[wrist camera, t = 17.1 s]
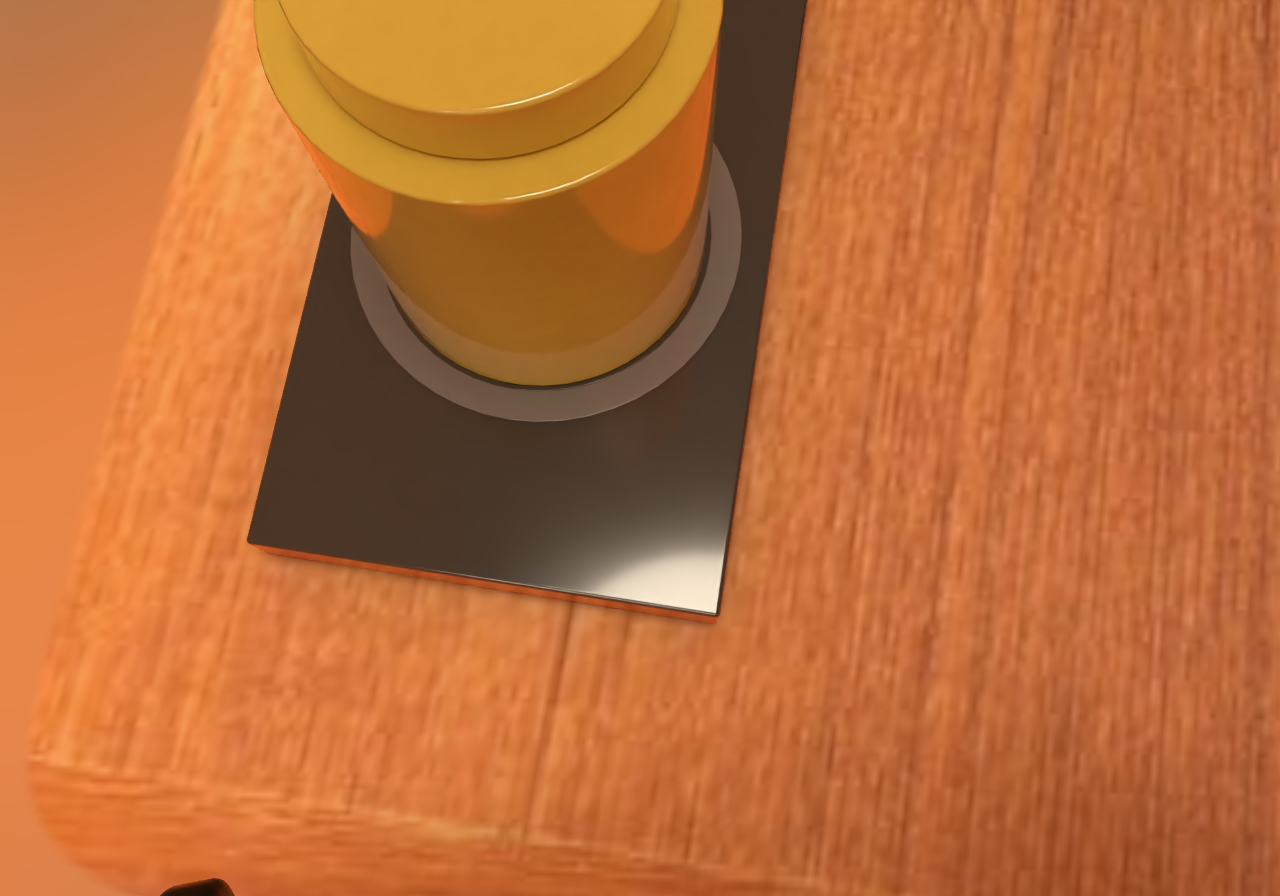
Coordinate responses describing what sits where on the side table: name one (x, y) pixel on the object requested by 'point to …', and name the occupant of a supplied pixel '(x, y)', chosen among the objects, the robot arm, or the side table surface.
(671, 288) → the jar
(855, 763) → the side table surface
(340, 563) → the hob
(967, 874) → the side table surface
